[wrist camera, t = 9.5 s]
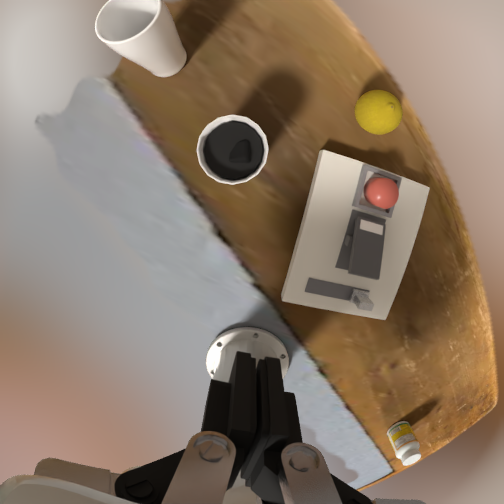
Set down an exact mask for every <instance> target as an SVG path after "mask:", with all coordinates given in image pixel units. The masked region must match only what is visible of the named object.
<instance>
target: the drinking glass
mask: <svg viewBox="0 0 504 504" xmlns="http://www.w3.org/2000/svg"><path fill="white" fill-rule="evenodd" d="M95 31H96V34H97V36H98V37H99V38H100V40H102V41H103V42H104V43H105V44H106V45H107V46H109V47H110V48H111V49H112V50H114V51H115V52H117V53H118V54H120V55H121V56H123V57H125V58H127V59H129V60H131V61H132V62H134V63H136V64H138V65H140V66H142V67H143V68H145V69H147V70H149V71H150V72H151V73H152V74H154V75H156V76H159V77H169V76H172V75H174V74H176V73H178V72H179V71H180V70H181V69H182V68H183V66H184V65H185V62H186V58H187V55H186V51H185V49H184V47H183V45H182V43H181V40H180V37H179V34H178V32H177V29H176V26H175V23H174V20H173V18H172V15H171V13H170V11H169V9H168V8H167V6H166V5H165V3H164V2H163V0H109V1H108V2H107V3H106V4H105V5H104V6H103V7H102V9H101V10H100V12H99V14H98V16H97V18H96V22H95Z"/></svg>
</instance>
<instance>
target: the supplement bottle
mask: <svg viewBox="0 0 504 504" xmlns="http://www.w3.org/2000/svg"><path fill="white" fill-rule="evenodd" d="M387 436H388V438H389V441H390V443H391V445H392V448H393V450H394V453H395V455H396V457H397V458H399V459H401V461H402V463H403V465H405V466H407V465H411V464H413V463H415V462H416V461H418V460H419V459H420V457H421V454H420V451H419V450H418V449H419V446H420V445H419V442H418V440H417V438H416V436H415V434H414V432H413V430H412V428H411V426H410V425H409V423H408V422H406V421H401V422H398V423H396V424H394V425H392V426H391V427H390V428H389V430H388V432H387Z"/></svg>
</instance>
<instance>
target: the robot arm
mask: <svg viewBox="0 0 504 504" xmlns="http://www.w3.org/2000/svg"><path fill="white" fill-rule="evenodd" d="M255 333H257V334H255ZM206 367H207V370H208V373H209V374H210V376H211V378H212V379H211V383H210V387H209V392H208V397H207V401H206V406H205V412H204V418H203V423H202V428H201V432H199V433H197V434H195V435H194V436H192V438H191V439H190V440H189V442H188V445H187V447H186V449H183V450H181V451H179V452H177V453H174V454H172V455H169V456H167V457H164V458H162V459H160V460H157V461H154V462H152V463H149V464H146V465H144V466H136V467H131V468H129V469H127V470H125V471H124V472H123V473H122V474H117V473H111V472H110V470H107V469H101V468H95V467H90V466H86V465H81V464H76V463H71V462H68V461H64V460H60V459H56V458H47V459H43V460H41V461H40V462H39V463H38V464H37V466H36V468H35V472H34V475H17V476H13V477H11V478H9V479H7V480H6V481H5V482H3V483H2V484H1V485H0V504H426V503H424V502H422V501H420V500H399V499H377V498H376V499H374V500H370V499H369V498H368V497H366V496H365V495H363V494H362V493H360V492H358V491H357V490H355V489H354V488H352V487H350V486H349V485H347V484H346V483H344V482H343V481H341V480H340V479H338V478H337V477H335V476H334V475H332V474H331V473H330V472H329V469H328V467H327V464H326V462H325V459H324V457H323V455H322V454H321V452H320V451H319V450H318V449H317V448H315V447H314V446H312V445H309V444H306V443H303V442H302V436H301V430H300V423H299V417H298V411H297V405H296V399H295V395H294V393H290V392H284V386H283V378H284V377H285V375H286V373H287V371H288V367H289V357H288V353H287V350H286V347H285V346H284V344H283V343H282V341H280V340H279V339H278V338H277V337H276V336H275V335H273V334H272V333H270V332H268V331H265V330H263V329H258V328H253V327H241V328H235V329H231V330H229V331H226V332H224V333H222V334H221V335H219V336H218V337H217V338H216V339H215V340H214V341H213V342H212V343H211V345H210V346H209V349H208V352H207V356H206Z"/></svg>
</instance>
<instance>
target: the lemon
mask: <svg viewBox="0 0 504 504" xmlns="http://www.w3.org/2000/svg"><path fill="white" fill-rule="evenodd" d="M402 114H403V113H402V107H401V104H400V102H399V101H398V99H397V98H396V97H395V96H394V95H393V94H391V93H389V92H387V91H383V90H371V91H369V92H366V93H364V94H363V95H362V96H361V97H360V98H359V99H358V101H357V102H356V105H355V117H356V120H357V122H358V123H359V125H360V126H361V127H362V128H363V129H364V130H366V131H368V132H370V133H373V134H386V133H389V132H391V131H392V130H394V129H395V128H396V127H397V126H398V125H399V124H400V122H401V119H402Z"/></svg>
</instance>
